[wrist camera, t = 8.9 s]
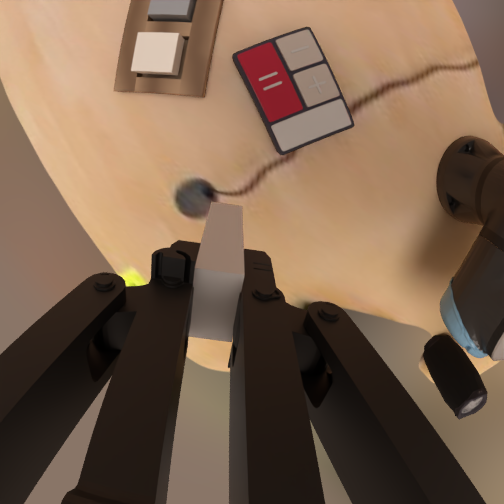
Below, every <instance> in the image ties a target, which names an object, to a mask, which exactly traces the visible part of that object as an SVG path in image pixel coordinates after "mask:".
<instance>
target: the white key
mask: <svg viewBox="0 0 504 504" xmlns="http://www.w3.org/2000/svg"><path fill="white" fill-rule="evenodd" d="M184 40H185V39H184V38H183V37H182V36H181V35H180V34H179V33H163V32H138V35H137V40H136V45H135V50H134V56H133V61H132V67H131V71H133V72H137V73H140V74H162V75H177V76H178V72H179V67H180V61H181V56H182V50H183V45H184Z"/></svg>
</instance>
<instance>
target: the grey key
mask: <svg viewBox="0 0 504 504" xmlns="http://www.w3.org/2000/svg"><path fill="white" fill-rule="evenodd" d="M195 4H196V0H151V1H150V5H149V9H148V15H149V16H150V17H151V18H152V19H153V20H154V21H162V22H188V23H191V21H192V17H193V12H194V8H195Z"/></svg>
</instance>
